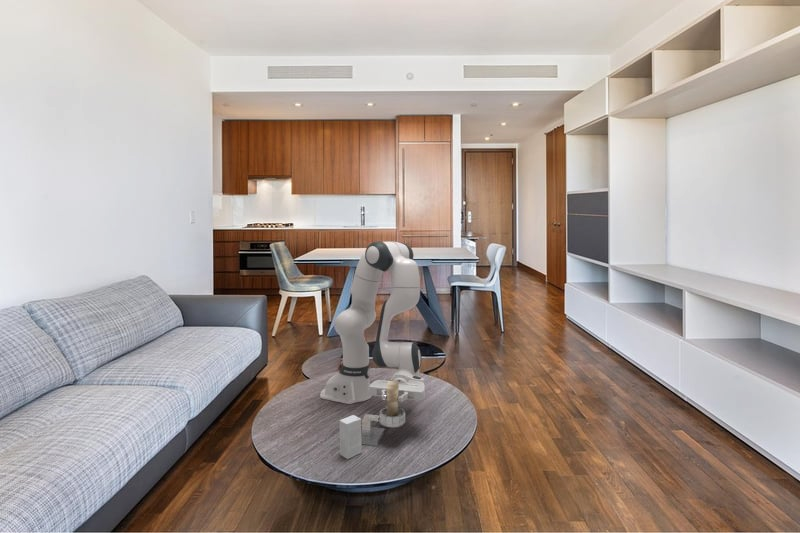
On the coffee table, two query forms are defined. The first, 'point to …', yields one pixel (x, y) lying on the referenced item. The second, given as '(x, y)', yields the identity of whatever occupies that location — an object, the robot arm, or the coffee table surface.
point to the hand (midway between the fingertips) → (391, 398)
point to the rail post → (392, 398)
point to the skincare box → (350, 436)
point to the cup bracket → (374, 434)
